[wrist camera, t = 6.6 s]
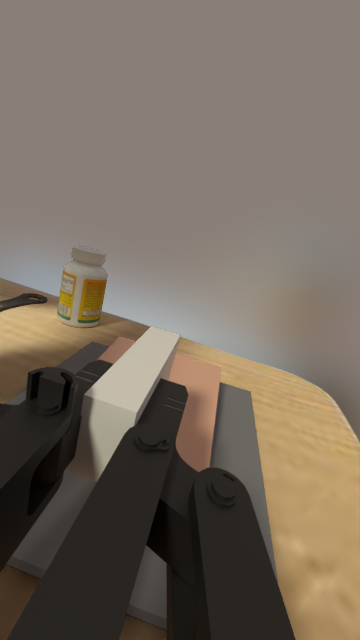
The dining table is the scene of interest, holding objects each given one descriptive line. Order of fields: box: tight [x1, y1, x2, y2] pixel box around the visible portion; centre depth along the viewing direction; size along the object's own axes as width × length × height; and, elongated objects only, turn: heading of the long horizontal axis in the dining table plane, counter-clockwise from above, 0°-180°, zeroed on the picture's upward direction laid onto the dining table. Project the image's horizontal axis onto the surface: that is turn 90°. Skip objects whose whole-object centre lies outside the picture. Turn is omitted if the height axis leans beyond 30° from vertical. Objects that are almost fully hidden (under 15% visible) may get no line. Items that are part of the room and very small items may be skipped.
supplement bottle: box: [57, 246, 107, 328], centre depth 36 cm, size 5×5×10 cm
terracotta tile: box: [96, 336, 221, 472], centre depth 21 cm, size 2×10×12 cm
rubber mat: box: [5, 342, 278, 630], centre depth 20 cm, size 20×18×1 cm
